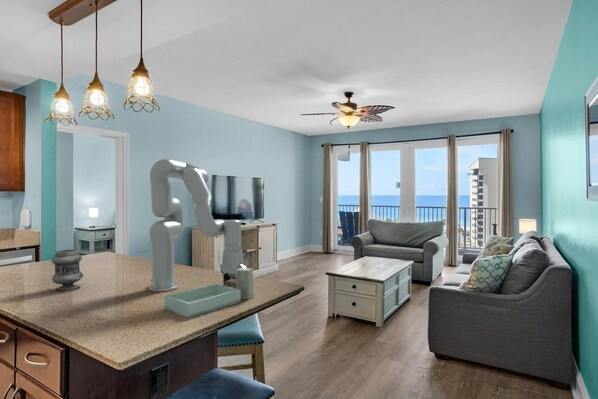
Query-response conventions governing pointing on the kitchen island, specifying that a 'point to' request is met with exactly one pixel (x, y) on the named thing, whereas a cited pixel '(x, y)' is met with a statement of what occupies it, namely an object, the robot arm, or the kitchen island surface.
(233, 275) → the coffee box
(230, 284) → the tan cube
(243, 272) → the skincare box
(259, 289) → the kitchen island surface
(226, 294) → the tote
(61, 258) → the apothecary jar
